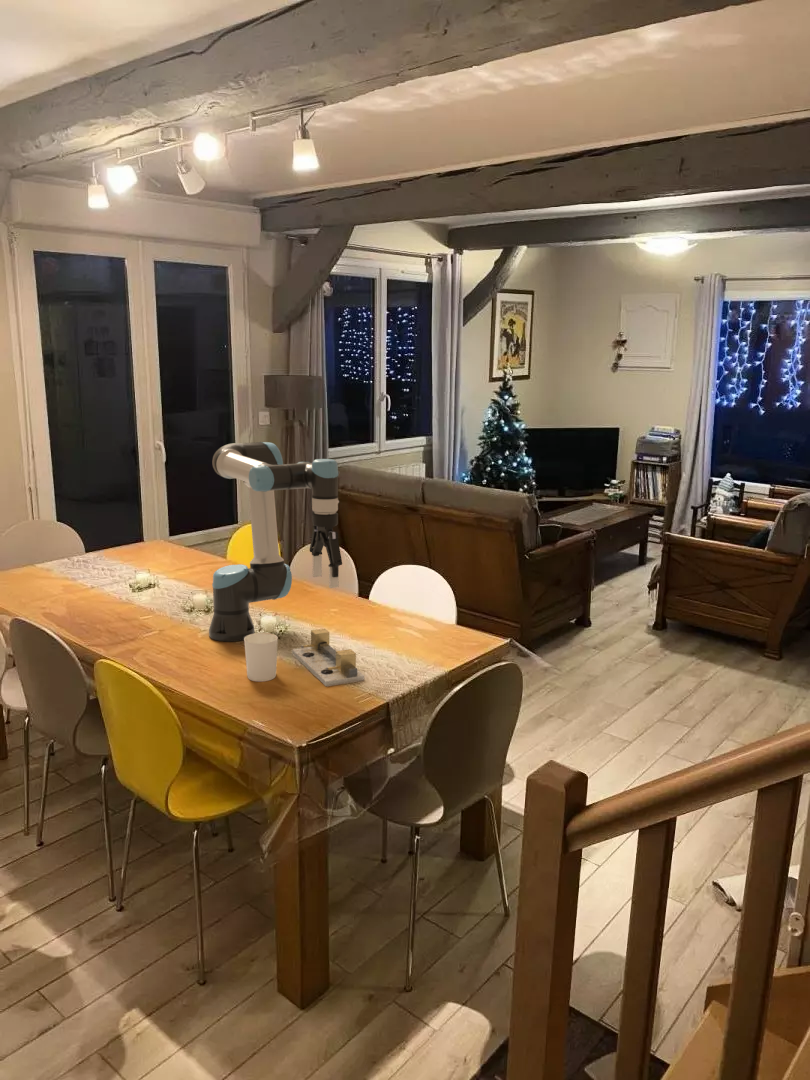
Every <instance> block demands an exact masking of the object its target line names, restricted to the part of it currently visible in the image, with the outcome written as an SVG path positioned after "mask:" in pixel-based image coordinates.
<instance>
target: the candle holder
mask: <svg viewBox="0 0 810 1080" xmlns="http://www.w3.org/2000/svg"><path fill="white" fill-rule="evenodd" d="M278 640H279V637H278V635H277V634H274V633H269V632H256V633H254V634H250V635H247V636H246V637H245V638H244V640H243V641H244V653H245V664H246V676H247V677H246V678H247V679H248V680H249V681H253V682H260V683H262V682H269V681H272V680H273V679H276V676H277V663H278V660H277V659H278Z"/></svg>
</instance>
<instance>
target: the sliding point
mask: <svg viewBox="0 0 810 1080" xmlns="http://www.w3.org/2000/svg"><path fill="white" fill-rule="evenodd" d="M319 642H326V643H327V644H328V645H330V631H329V630H327V629H326V628H319V629H312V630H310V644H303V645H300V648H306V647H314V648H315V649H318V643H319Z"/></svg>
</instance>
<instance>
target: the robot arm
mask: <svg viewBox="0 0 810 1080" xmlns="http://www.w3.org/2000/svg"><path fill="white" fill-rule="evenodd" d="M212 468H213V470H214V472H215V473H216V474H217V475H219V476H220V477H222V478H224V479H229V480H231V479H236V480H238V481H239V480H240V481H243V485H245V486H246V487H247V488H248V501H249V513H250V524H251V526H250V527H251V537H252V548H253V550H252V551H253V558H252V559H251V560H250V562H249V568H248V566H247V565H245V564H229V565H225V566H222V567H220V568H218V569H217V570H216V571H214V573H213V574H212V575H213V576H212V584H211V585H212V596H213V597H212V598H213V599H212V600H213V616H212V618H211V621H210V625H209V628H208V636H209V638H211V639H212V640H214V641H217V642H218V641H219V642H237V641H238V642H239V641H244V638H245V637H246V636H247V635H250V634H254V633H255V626H254V623H253V620H252V617H251V614H250V603H256V602H257V603H258V602H265V601H270V600H274V601H275V600H277V599H282V598H285V597H286V596H287V595H288V594H289V593H290V591H291V587H292V583H293V575H292V571H291V568H290V566H289V564H286V563H285V559H284V558H283V557H282V556H280V552H279V551H280V549H279V537H278V527H277V526H278V525H277V524H278V523H277V511H276V499H275V491H279V490H280V491H283V490H298V489H310V490H311V492H312V496H311V506H312V507H311V508H312V509H311V510H312V512H313V513H312V516H311V518H312V521H311V522H312V534H311V540H310V546H309V552H310V553H311V556H312V577H313V578H320V577H323V561H322V560H323V548H325V549H326V553H327V557H328V560H329V564H328V588H330V589H334V588H335V589H336V588H339V586H340V585H339V582H340V580H339V579H340V577H339V576H340V574H339V573H340V572H339V569H340V566H342V565H343V561H342V553H341V548H340V542H339V532H338V531H334V527H336V526H337V525H338V524H339V513H338V510H339V503H340V500H339V469H338V462H337V460H336V459H331V458H316V459H314V460H313V461H312V462H310V461H298V462H297V463H286V464H285V463H284V460H283V455H282V453H281V451H280V448H279V447H278V446H277V445H276V444H275V443H273V442H268V441H264V442H263V441H259V442H258V441H257V442H255V441H254V442H239V443H238V442H234V443H228V444H225V445H223V446H221V447H219V448H218V449H217V450H216V451H215V452H214V454H213V456H212Z"/></svg>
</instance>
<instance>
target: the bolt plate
mask: <svg viewBox="0 0 810 1080" xmlns="http://www.w3.org/2000/svg"><path fill="white" fill-rule="evenodd" d="M291 654H292V655H293V656H294V657H295V658H296V660H298V661H299V662H300V663H301V664H302V665H303V666H304V667H305V668H306V669H307V671H309V672H310V673H311V674H312V675H313V676H314V677H316V678H317V680H318V681H320V683H322V684H323V686H324V687H331V686H338V685H344V684H350V683H356V682H363V681H365V674H363V673H362V671H360V670H358V668H357V665H356V663H357V652H356V651H354V650H353V649H351V648H350V649H342V650H341V649H340V650H336V649H335V648H333V647H332V646H331V645H330V644H329V645H328V644H327V643H326V642H319V643H318V649H315V648H314V647H306V648H301V647H300V648H299V647H298V648H292V649H291Z"/></svg>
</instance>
